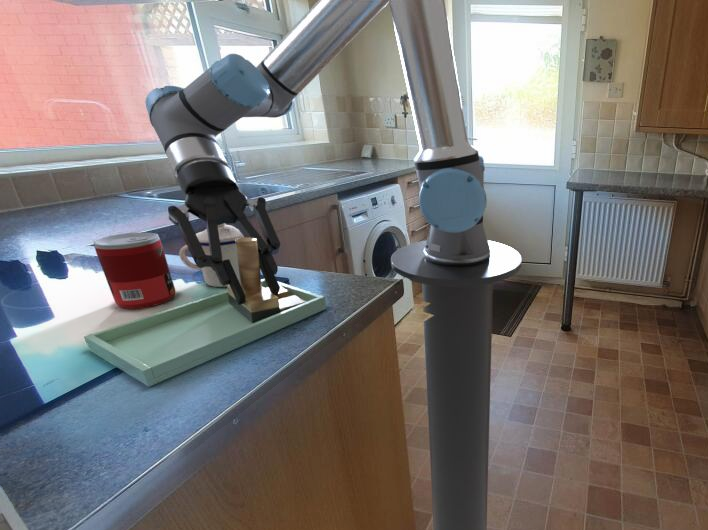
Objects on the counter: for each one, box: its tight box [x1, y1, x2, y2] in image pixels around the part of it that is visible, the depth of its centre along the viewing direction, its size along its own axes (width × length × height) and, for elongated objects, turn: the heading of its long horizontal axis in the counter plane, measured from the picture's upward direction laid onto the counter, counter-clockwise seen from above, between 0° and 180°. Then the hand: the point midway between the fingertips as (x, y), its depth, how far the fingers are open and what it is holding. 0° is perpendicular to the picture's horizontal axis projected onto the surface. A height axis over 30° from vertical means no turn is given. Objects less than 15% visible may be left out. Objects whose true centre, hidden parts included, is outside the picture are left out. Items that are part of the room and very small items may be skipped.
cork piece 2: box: [279, 295, 305, 312], centre depth 67 cm, size 4×4×2 cm
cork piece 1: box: [265, 285, 290, 299], centre depth 71 cm, size 4×4×2 cm
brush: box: [226, 237, 280, 323], centre depth 64 cm, size 4×10×12 cm, turn 50°
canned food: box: [93, 231, 176, 310], centre depth 68 cm, size 8×8×11 cm
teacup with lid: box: [178, 223, 244, 288], centre depth 77 cm, size 12×9×12 cm
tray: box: [83, 278, 327, 388], centre depth 62 cm, size 26×16×2 cm, turn 152°
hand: (259, 295), depth 63 cm, fingers closed on brush, 4 cm apart
